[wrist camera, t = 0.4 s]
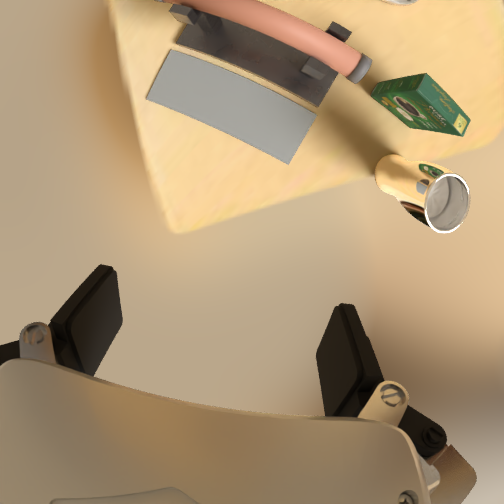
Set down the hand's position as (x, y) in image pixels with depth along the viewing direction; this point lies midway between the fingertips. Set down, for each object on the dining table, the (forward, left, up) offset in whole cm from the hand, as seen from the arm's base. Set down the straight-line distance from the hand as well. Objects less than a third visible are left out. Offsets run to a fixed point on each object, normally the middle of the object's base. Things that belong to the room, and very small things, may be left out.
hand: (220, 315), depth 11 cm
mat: (-8, -7, -30) cm, 32 cm away
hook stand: (-17, -7, -30) cm, 35 cm away
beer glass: (-11, +18, -30) cm, 36 cm away
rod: (-17, -7, -17) cm, 25 cm away
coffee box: (-20, +13, -30) cm, 38 cm away
